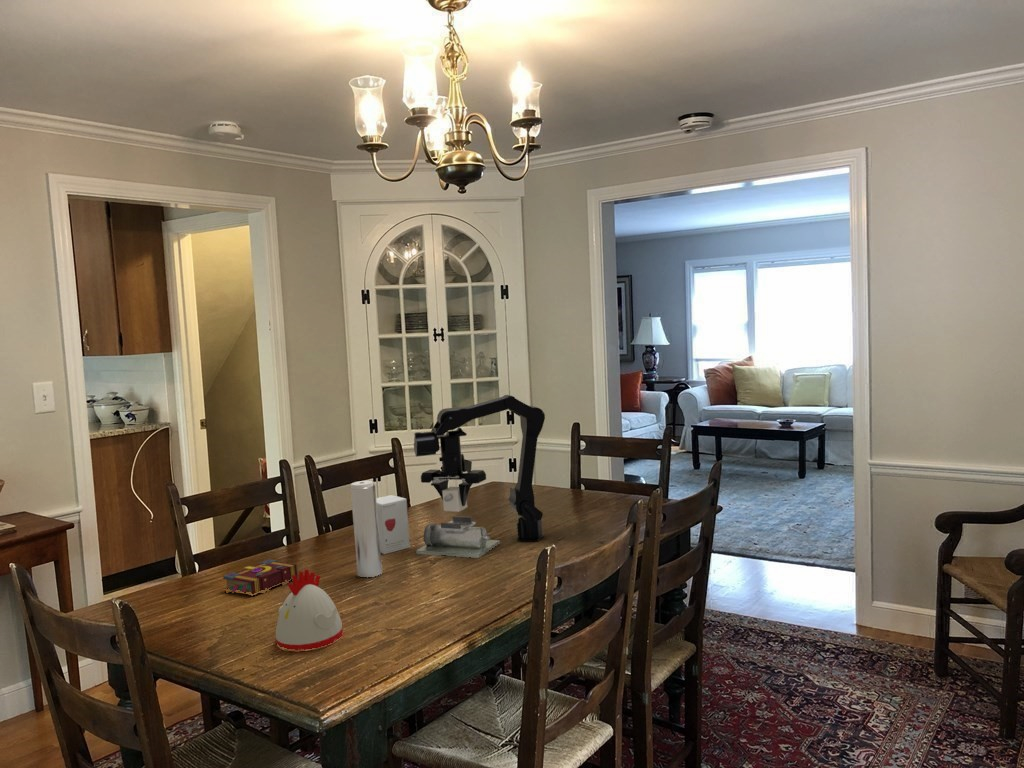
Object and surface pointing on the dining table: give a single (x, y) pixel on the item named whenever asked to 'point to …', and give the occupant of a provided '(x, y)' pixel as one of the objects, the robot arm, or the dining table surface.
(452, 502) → the off-white cube
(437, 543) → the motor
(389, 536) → the supplement box
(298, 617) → the kitchen timer
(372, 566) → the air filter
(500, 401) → the robot arm
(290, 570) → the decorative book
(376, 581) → the dining table surface
